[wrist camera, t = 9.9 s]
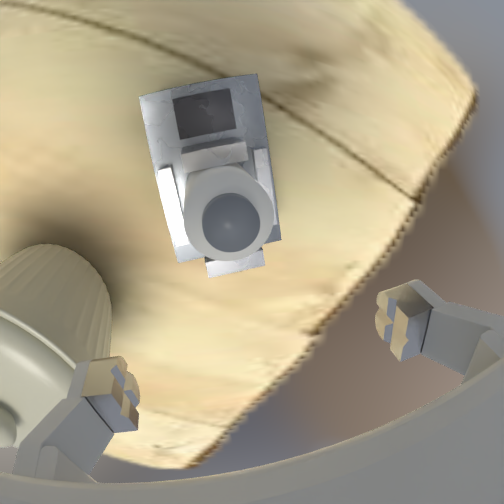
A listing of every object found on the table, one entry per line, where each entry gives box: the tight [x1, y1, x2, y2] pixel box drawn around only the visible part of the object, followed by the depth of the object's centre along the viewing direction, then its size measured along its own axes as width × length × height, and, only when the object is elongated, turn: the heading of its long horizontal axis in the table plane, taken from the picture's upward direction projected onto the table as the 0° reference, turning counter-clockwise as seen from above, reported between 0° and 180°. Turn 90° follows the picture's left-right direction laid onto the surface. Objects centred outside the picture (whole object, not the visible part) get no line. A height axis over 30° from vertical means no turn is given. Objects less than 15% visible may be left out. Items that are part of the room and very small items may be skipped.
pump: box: [183, 162, 274, 261], centre depth 20 cm, size 5×5×9 cm
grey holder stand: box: [139, 74, 281, 278], centre depth 24 cm, size 14×9×11 cm, turn 9°
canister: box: [0, 244, 112, 448], centre depth 22 cm, size 18×18×21 cm
